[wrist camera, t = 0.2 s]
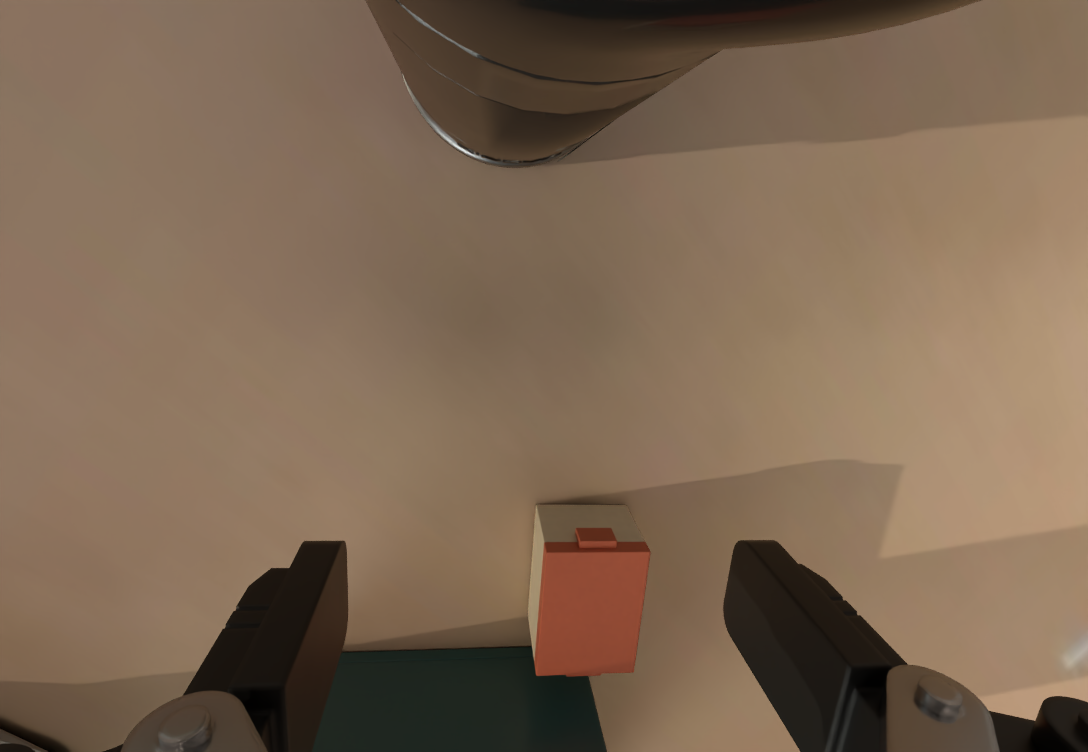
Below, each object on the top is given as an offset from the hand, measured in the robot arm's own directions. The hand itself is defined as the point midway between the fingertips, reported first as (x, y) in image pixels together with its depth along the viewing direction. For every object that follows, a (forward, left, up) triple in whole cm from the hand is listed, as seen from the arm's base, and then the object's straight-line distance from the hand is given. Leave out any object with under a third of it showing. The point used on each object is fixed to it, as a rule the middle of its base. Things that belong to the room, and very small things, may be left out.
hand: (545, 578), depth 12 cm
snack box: (+11, +5, -17) cm, 21 cm away
